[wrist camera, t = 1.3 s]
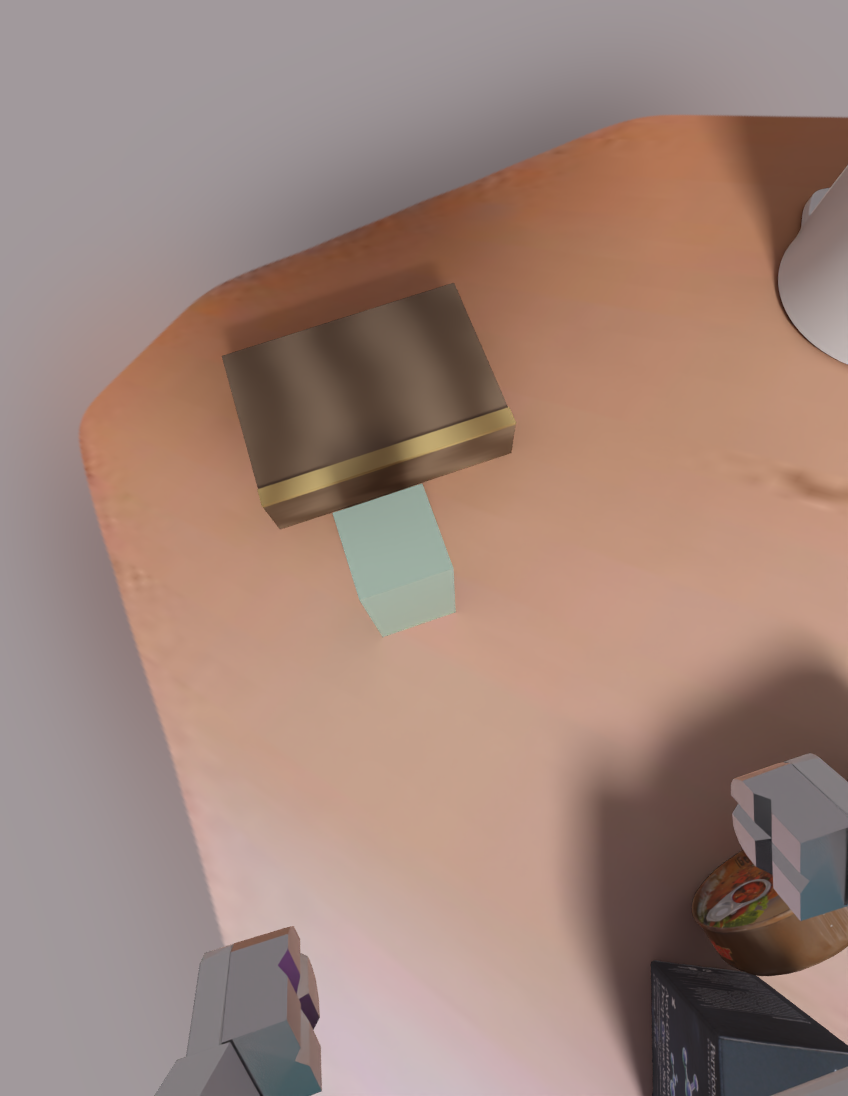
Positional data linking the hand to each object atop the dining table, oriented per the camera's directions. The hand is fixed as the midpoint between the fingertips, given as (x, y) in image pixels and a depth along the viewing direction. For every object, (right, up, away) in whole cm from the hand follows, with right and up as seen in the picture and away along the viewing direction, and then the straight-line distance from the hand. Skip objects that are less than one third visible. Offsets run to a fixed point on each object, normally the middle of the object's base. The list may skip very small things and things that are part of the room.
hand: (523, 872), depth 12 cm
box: (+13, -21, +23) cm, 34 cm away
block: (-3, +3, +32) cm, 32 cm away
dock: (-6, +15, +36) cm, 39 cm away
